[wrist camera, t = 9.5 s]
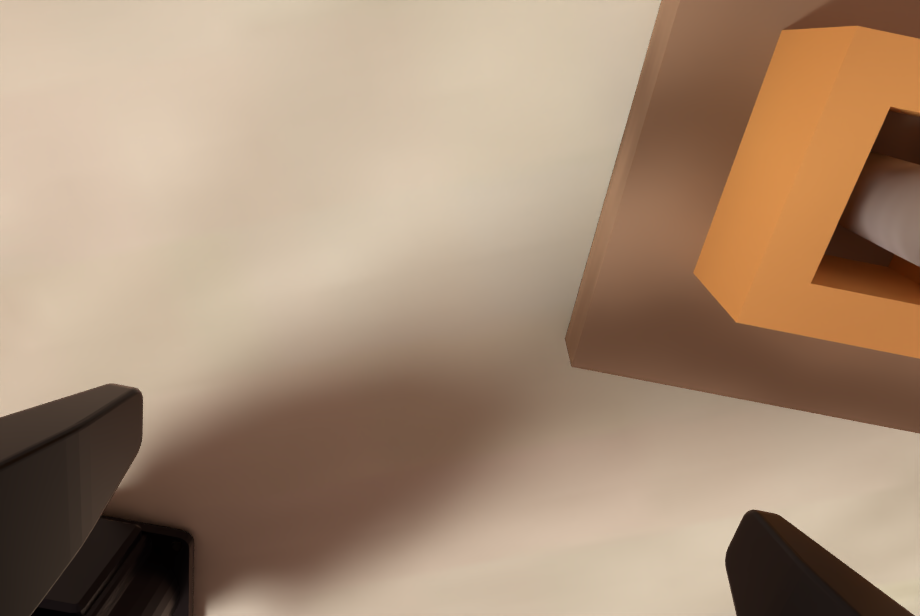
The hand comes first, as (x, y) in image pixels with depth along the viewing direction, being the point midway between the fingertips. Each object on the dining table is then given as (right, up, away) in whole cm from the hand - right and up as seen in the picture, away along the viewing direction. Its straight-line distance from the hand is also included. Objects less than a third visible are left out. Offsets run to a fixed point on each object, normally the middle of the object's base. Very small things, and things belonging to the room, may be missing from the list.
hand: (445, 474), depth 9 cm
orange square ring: (+11, +6, +8) cm, 15 cm away
